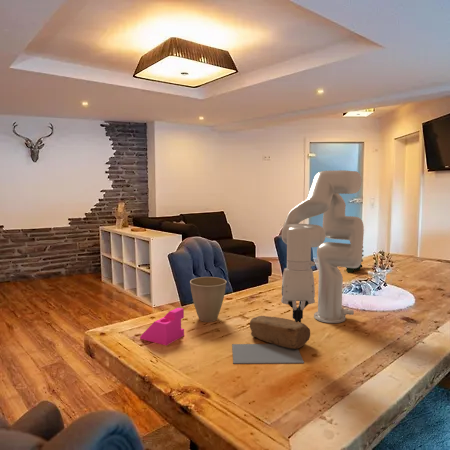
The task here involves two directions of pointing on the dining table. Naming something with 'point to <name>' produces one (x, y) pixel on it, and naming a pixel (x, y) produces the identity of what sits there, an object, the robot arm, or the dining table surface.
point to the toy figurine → (354, 268)
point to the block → (280, 331)
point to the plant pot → (208, 297)
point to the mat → (264, 354)
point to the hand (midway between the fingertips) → (297, 320)
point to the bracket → (166, 328)
